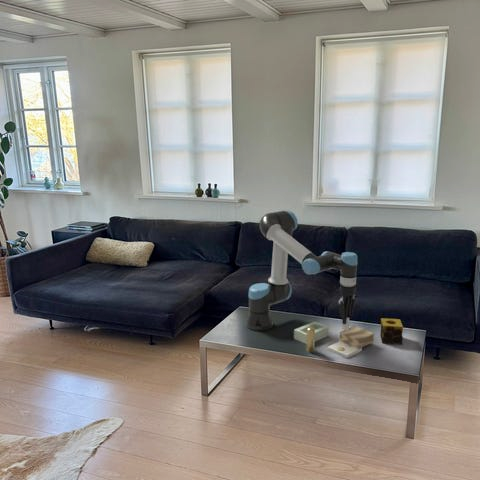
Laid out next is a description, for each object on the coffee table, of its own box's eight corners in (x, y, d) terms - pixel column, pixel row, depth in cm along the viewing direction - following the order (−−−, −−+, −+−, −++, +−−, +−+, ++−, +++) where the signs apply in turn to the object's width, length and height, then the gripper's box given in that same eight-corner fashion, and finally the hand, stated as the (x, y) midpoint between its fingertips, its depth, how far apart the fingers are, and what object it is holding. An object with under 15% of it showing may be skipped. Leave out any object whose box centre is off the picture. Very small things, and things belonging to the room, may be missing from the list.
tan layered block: (339, 341, 233) (339, 332, 232) (353, 334, 240) (354, 325, 239) (359, 349, 224) (359, 340, 223) (373, 341, 231) (373, 333, 230)
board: (327, 349, 227) (327, 346, 227) (342, 342, 235) (342, 339, 234) (346, 358, 218) (346, 355, 218) (361, 350, 225) (362, 347, 225)
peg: (304, 350, 227) (304, 328, 224) (310, 348, 229) (310, 326, 227) (310, 353, 224) (311, 330, 221) (316, 350, 226) (316, 328, 224)
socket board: (294, 338, 240) (294, 329, 239) (314, 329, 250) (314, 321, 249) (308, 344, 233) (308, 335, 232) (328, 335, 243) (328, 327, 242)
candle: (402, 345, 230) (403, 327, 228) (381, 343, 232) (382, 325, 230) (399, 336, 240) (401, 319, 238) (379, 335, 242) (380, 317, 240)
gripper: (346, 289, 212) (343, 335, 218) (362, 283, 220) (359, 328, 226) (333, 285, 218) (331, 330, 224) (349, 279, 226) (347, 323, 232)
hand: (345, 329), depth 225 cm, fingers closed
